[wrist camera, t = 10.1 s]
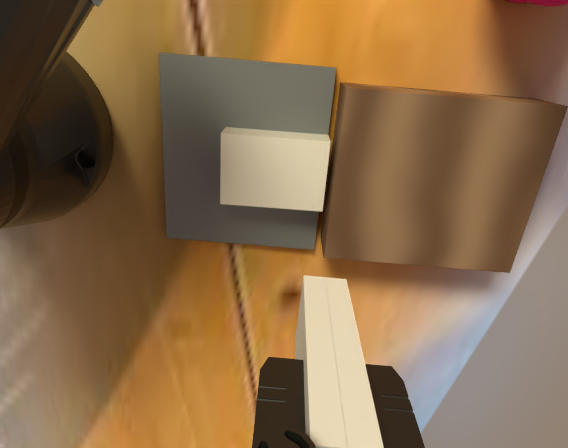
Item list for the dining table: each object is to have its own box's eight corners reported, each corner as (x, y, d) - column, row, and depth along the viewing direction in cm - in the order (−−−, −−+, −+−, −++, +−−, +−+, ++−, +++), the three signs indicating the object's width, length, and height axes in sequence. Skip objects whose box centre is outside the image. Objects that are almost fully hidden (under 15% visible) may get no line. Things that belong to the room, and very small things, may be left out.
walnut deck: (320, 236, 36) (323, 257, 33) (340, 82, 31) (346, 87, 27) (488, 249, 37) (509, 272, 33) (535, 99, 31) (567, 106, 28)
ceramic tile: (224, 193, 34) (220, 203, 32) (225, 127, 32) (220, 133, 30) (320, 200, 34) (322, 211, 32) (328, 134, 32) (330, 141, 30)
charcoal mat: (169, 233, 37) (166, 237, 36) (162, 52, 31) (158, 52, 30) (313, 245, 37) (314, 249, 36) (335, 67, 31) (336, 68, 30)
